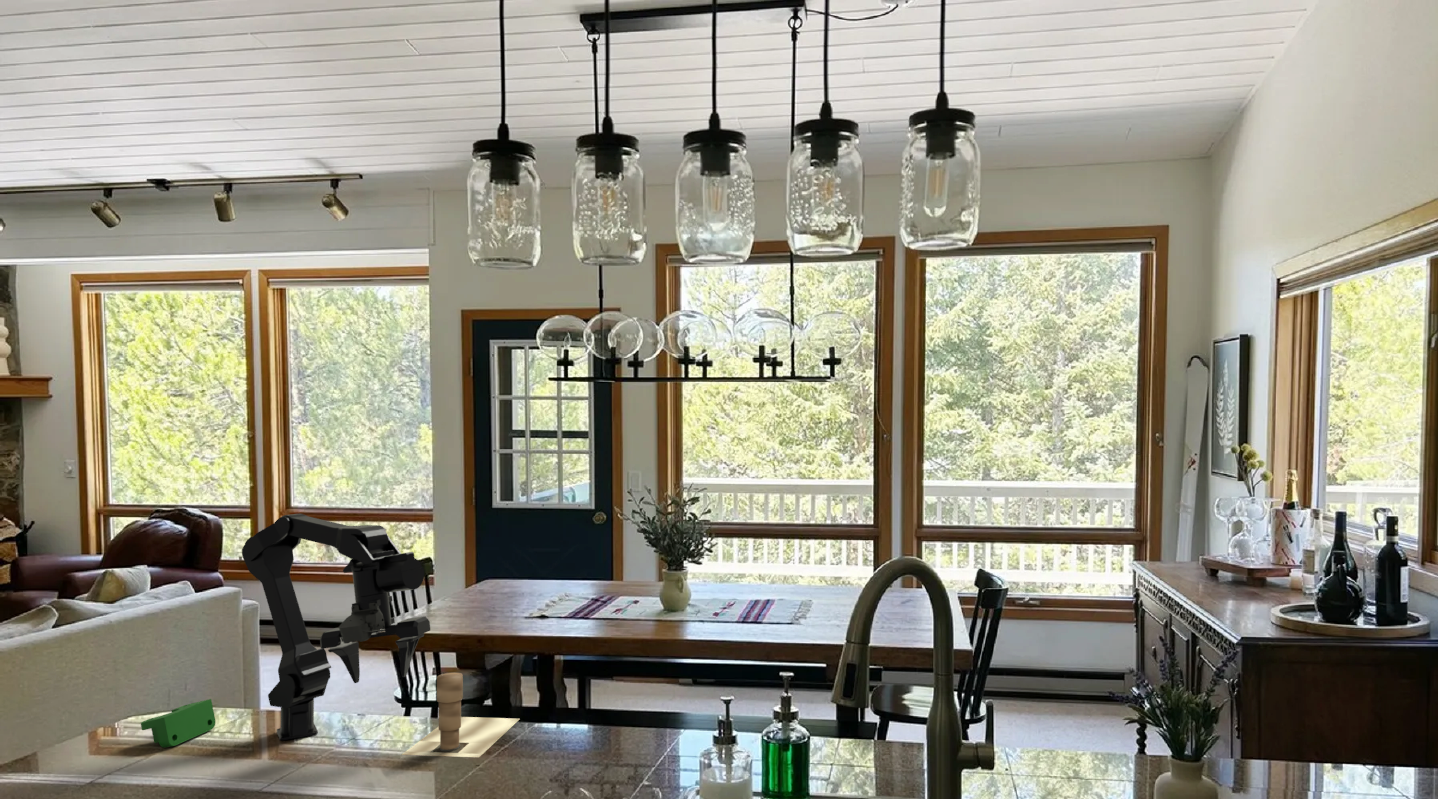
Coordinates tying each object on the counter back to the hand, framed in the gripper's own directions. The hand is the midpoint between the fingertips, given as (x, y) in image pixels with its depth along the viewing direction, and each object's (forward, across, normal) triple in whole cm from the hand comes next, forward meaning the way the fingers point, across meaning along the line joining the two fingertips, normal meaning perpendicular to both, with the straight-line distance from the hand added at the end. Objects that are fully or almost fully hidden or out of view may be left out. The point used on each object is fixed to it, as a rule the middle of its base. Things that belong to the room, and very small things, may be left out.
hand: (380, 679), depth 155 cm
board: (+14, +13, +3) cm, 19 cm away
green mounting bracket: (+7, -42, +2) cm, 43 cm away
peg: (+14, +13, -3) cm, 20 cm away
